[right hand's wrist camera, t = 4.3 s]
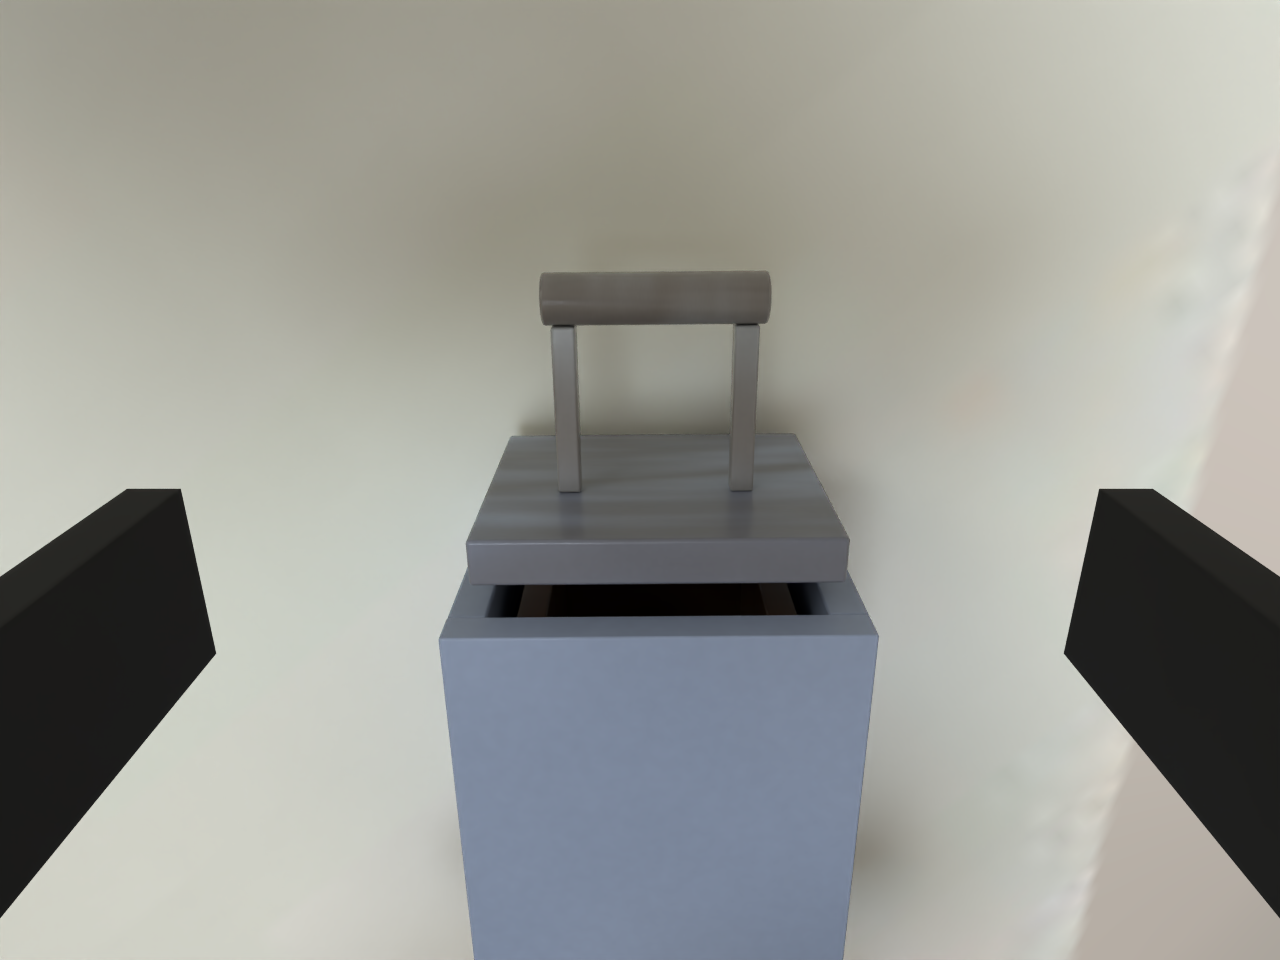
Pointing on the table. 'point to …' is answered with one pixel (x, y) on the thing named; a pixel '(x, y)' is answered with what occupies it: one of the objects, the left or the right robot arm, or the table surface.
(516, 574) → the drawer
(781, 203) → the table surface
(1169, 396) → the table surface
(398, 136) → the table surface
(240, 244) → the table surface
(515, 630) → the cabinet
